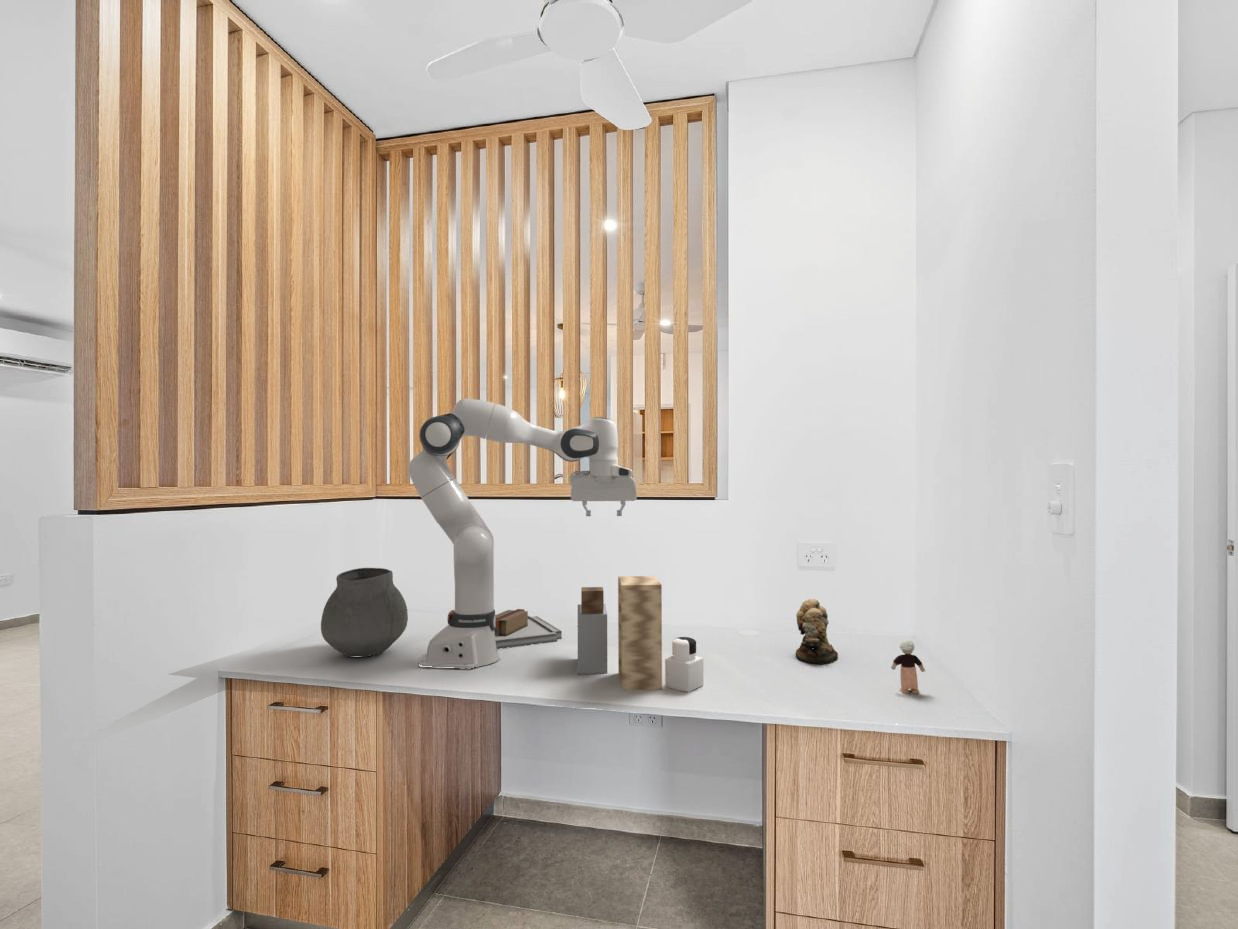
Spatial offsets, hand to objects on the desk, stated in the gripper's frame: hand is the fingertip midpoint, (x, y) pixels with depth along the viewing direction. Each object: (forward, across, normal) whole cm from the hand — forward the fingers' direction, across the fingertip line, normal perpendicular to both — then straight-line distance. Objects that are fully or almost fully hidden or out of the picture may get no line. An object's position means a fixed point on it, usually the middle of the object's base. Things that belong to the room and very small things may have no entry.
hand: (603, 516), depth 192 cm
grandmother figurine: (+41, +73, -41) cm, 93 cm away
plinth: (+41, -4, -14) cm, 44 cm away
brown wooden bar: (+25, -4, -12) cm, 28 cm away
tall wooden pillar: (+41, +8, -28) cm, 50 cm away
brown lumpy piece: (+41, +62, -10) cm, 75 cm away
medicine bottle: (+41, +19, -33) cm, 56 cm away
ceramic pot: (+41, -72, +3) cm, 83 cm away
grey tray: (+42, -32, +22) cm, 57 cm away
